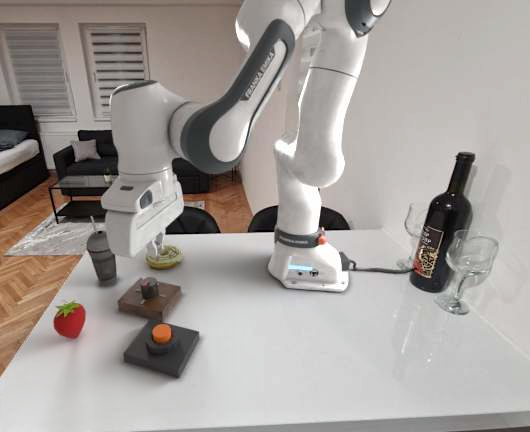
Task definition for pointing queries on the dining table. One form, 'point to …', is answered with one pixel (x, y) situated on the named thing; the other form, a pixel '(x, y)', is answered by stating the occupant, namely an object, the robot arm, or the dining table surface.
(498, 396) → the dining table surface
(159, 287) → the panel
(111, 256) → the beverage cup
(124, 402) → the dining table surface
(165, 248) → the decorated donut
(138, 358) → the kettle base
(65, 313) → the strawberry
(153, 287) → the temp dial
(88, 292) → the dining table surface
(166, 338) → the orange button cap
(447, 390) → the dining table surface
